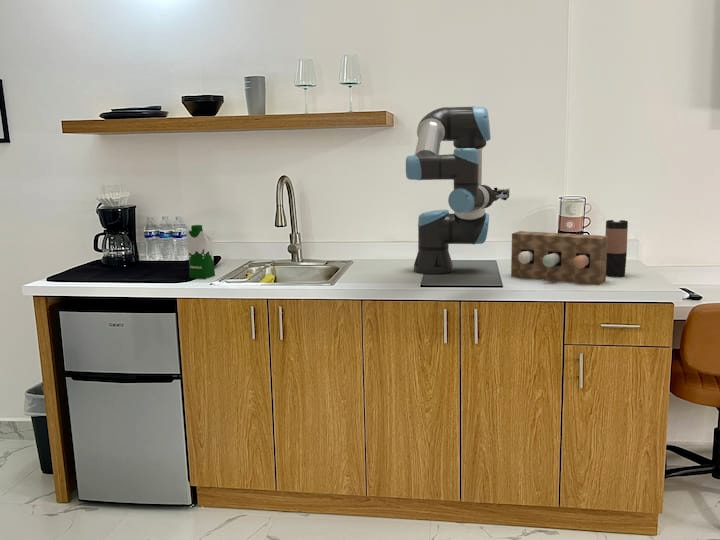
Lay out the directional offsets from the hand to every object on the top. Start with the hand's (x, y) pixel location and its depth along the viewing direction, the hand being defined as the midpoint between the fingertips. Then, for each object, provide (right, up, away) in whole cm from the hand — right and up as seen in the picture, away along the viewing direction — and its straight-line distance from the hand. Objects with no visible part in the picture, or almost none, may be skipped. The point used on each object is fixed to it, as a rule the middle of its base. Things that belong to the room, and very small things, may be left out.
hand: (507, 192), depth 254 cm
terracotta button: (+27, -26, +3) cm, 37 cm away
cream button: (+10, -24, +13) cm, 29 cm away
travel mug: (+43, -29, +17) cm, 54 cm away
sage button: (+17, -25, +6) cm, 31 cm away
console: (+20, -30, +12) cm, 38 cm away
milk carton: (-111, -30, +29) cm, 118 cm away
